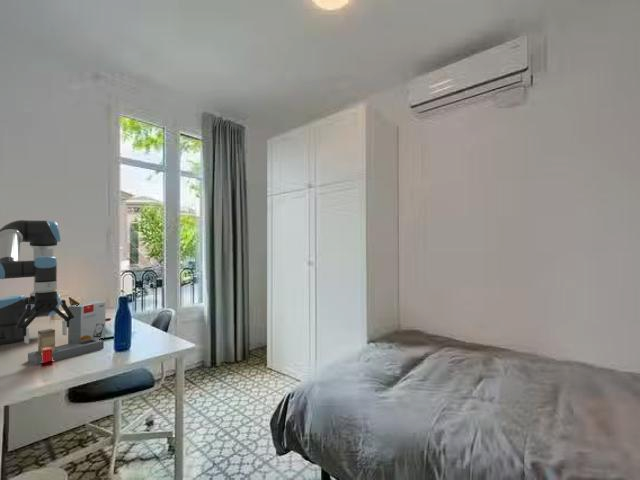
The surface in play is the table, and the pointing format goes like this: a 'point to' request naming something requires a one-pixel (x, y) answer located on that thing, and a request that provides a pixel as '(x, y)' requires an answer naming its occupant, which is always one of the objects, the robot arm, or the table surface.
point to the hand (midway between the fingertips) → (46, 338)
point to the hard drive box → (87, 321)
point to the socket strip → (69, 350)
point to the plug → (46, 339)
